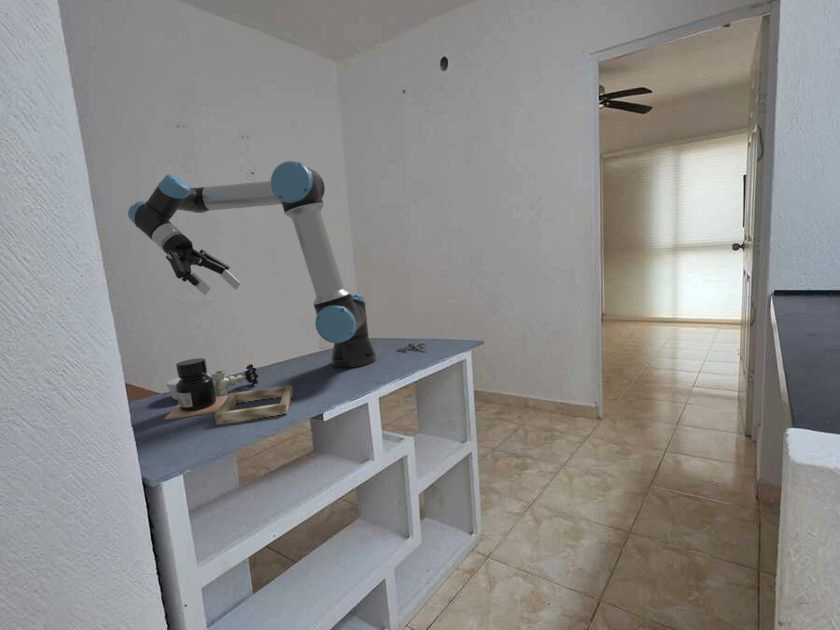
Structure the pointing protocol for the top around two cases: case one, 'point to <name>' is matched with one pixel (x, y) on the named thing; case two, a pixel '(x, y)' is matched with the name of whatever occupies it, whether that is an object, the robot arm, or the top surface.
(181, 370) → the ink bottle
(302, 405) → the top surface
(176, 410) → the terracotta tile
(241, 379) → the valve
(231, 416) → the birch collar
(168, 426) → the top surface
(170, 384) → the ramekin
